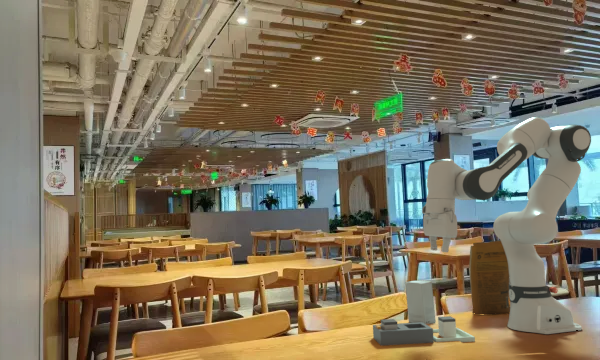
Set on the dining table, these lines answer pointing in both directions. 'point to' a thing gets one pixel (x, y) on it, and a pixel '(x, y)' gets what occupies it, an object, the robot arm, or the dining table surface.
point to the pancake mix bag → (489, 278)
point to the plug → (447, 326)
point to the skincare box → (420, 302)
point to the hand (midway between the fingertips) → (439, 251)
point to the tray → (460, 336)
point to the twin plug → (389, 324)
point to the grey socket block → (404, 334)
